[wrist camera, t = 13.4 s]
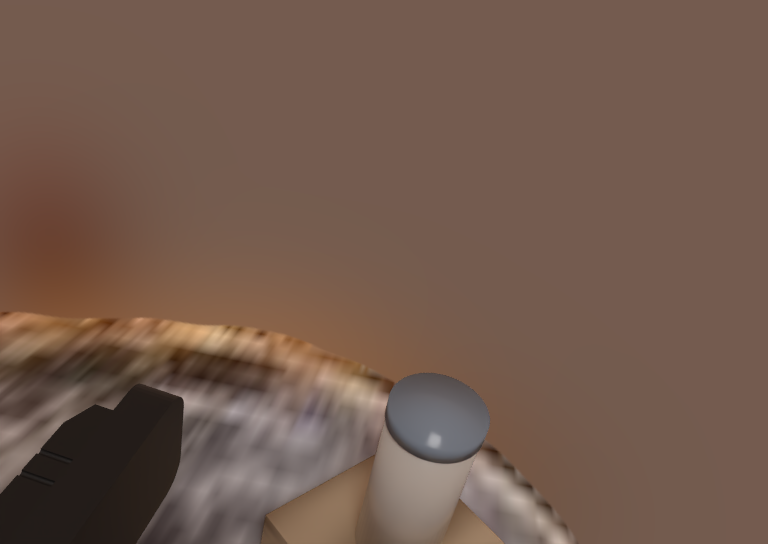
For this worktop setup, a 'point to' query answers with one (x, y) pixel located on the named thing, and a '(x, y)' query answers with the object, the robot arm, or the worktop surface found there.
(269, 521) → the base block
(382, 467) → the canister
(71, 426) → the robot arm
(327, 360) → the worktop surface
